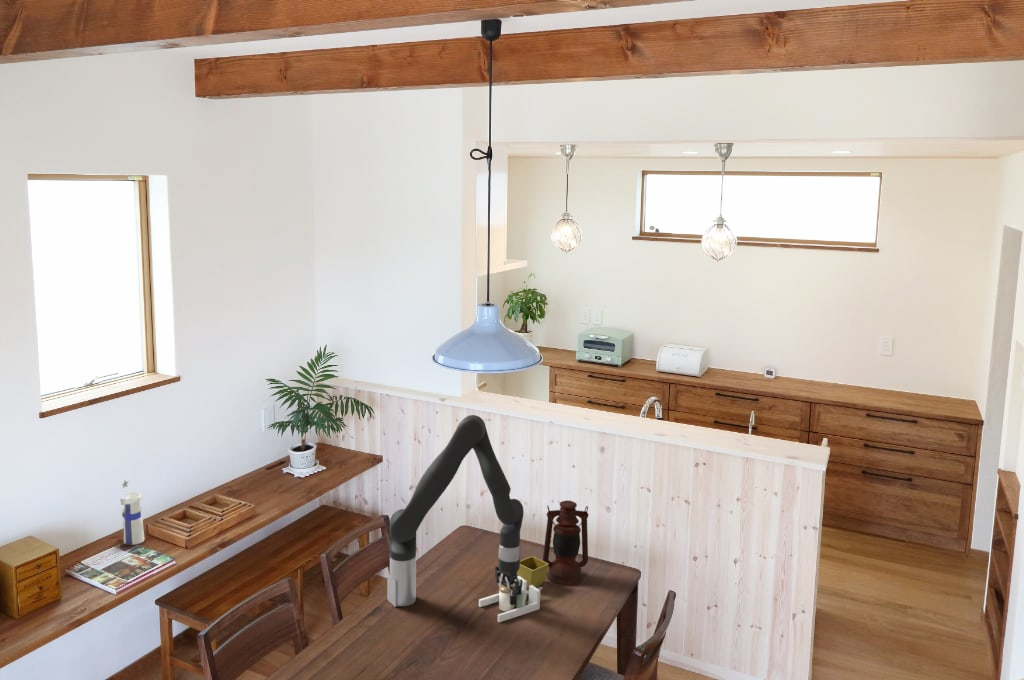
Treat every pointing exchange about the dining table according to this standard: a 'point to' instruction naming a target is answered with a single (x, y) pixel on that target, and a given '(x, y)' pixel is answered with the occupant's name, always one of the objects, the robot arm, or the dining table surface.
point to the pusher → (522, 598)
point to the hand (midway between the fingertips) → (507, 600)
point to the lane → (532, 606)
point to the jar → (505, 598)
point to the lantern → (566, 544)
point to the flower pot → (533, 571)
